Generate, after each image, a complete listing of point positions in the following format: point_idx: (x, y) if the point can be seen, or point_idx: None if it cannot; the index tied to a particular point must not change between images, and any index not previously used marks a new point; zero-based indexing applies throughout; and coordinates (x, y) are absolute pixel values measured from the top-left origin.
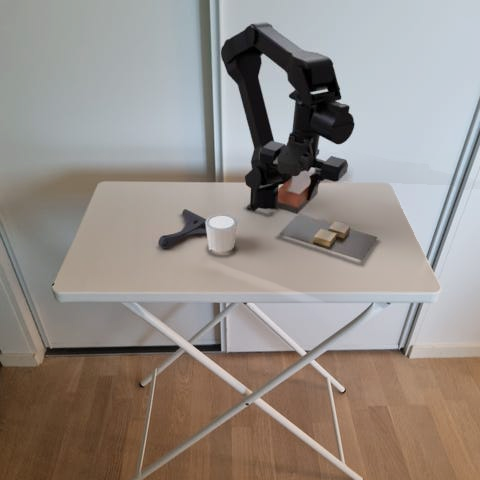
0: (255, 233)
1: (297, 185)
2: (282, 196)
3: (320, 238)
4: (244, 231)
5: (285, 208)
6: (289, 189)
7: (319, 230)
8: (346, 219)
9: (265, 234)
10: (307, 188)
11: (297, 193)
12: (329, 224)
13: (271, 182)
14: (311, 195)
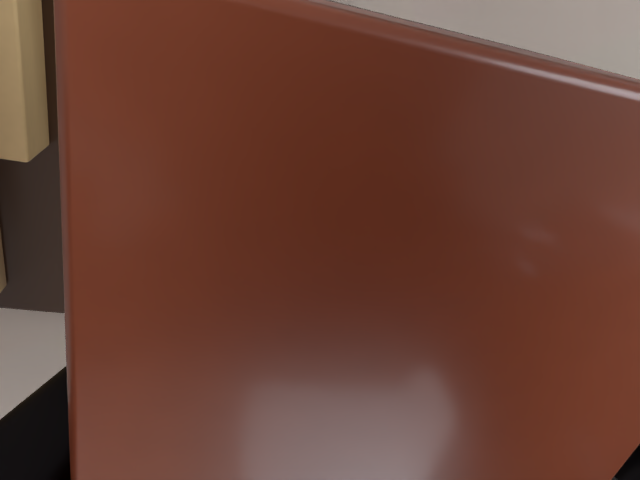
0: (542, 19)
1: (336, 473)
2: (589, 67)
3: None
4: (624, 17)
5: (405, 19)
6: (535, 203)
7: (20, 125)
8: (14, 401)
9: (466, 34)
10: (82, 473)
11: (176, 4)
12: (48, 293)
13: (620, 473)
14: (64, 387)
